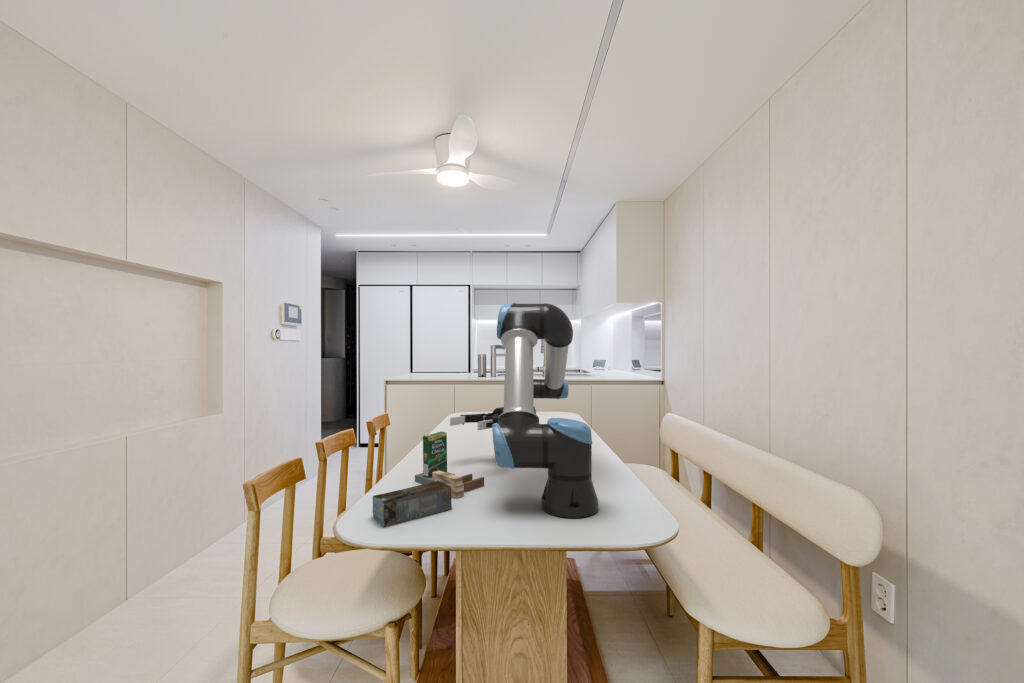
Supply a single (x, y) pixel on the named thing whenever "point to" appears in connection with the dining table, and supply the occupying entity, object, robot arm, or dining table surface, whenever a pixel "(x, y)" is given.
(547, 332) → the robot arm
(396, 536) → the dining table surface
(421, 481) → the stand pad
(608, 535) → the dining table surface
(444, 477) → the offcut stack
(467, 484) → the walnut rack
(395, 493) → the beverage carton
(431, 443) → the coffee box
